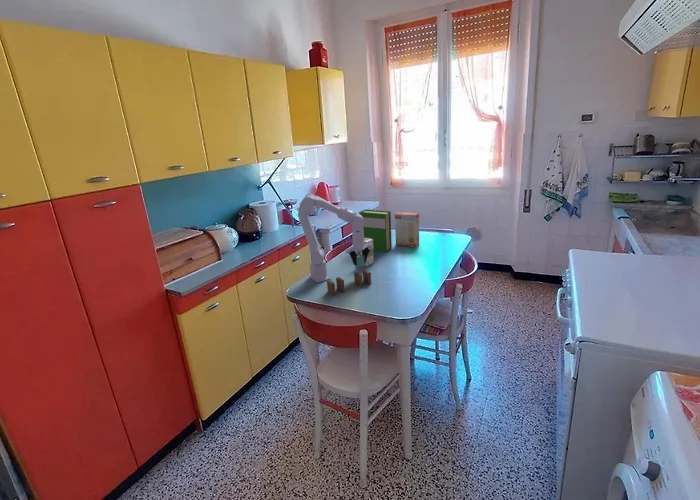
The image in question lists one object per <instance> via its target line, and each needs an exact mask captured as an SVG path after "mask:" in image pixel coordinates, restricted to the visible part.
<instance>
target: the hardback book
mask: <svg viewBox="0 0 700 500" xmlns="http://www.w3.org/2000/svg"><path fill="white" fill-rule="evenodd" d="M358 213H359V214H360V215H362V217H363V229H364V238H369V239H373V252H378V253H379V252H380V253H387V252H388V250H392V248H393V247H392V244H393V243H392V220H391V219H392V217H391V216H392V215H391V211H390V210H382V209H381V210H379V209H369V208H367V209H366V208H365V209H362V210H361V211H359V212H358Z"/></svg>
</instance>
